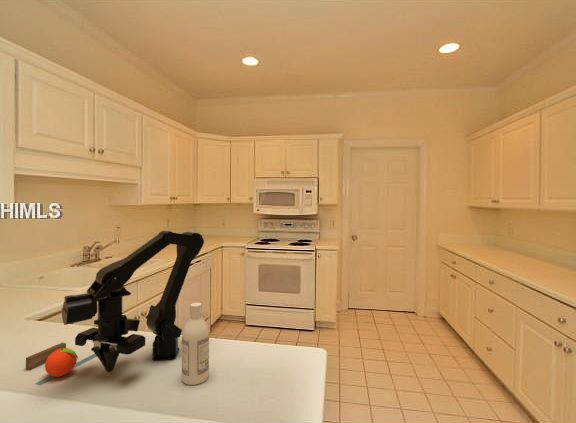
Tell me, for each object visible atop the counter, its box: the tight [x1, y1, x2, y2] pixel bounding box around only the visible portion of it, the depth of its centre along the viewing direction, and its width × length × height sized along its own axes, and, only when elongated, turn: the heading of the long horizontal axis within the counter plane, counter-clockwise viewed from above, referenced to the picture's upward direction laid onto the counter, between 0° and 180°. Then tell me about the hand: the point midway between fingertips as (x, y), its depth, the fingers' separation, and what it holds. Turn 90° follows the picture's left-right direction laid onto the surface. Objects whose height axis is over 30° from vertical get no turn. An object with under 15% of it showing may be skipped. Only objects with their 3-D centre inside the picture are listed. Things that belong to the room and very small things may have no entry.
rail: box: [25, 342, 67, 371], centre depth 88 cm, size 2×10×4 cm, turn 163°
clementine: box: [44, 347, 79, 378], centre depth 81 cm, size 8×7×7 cm
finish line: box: [34, 353, 98, 386], centre depth 85 cm, size 2×18×1 cm, turn 163°
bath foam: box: [181, 302, 210, 386], centre depth 80 cm, size 7×7×20 cm
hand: (110, 371), depth 81 cm, fingers closed
